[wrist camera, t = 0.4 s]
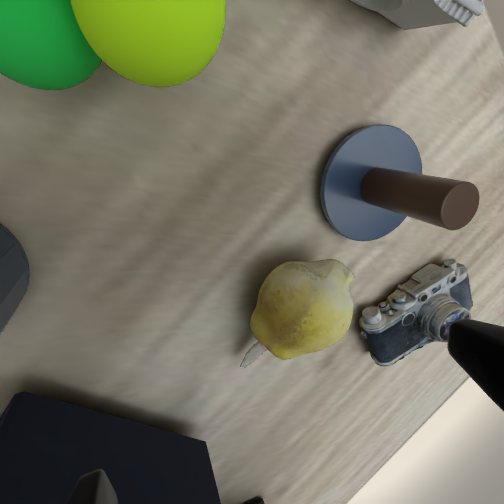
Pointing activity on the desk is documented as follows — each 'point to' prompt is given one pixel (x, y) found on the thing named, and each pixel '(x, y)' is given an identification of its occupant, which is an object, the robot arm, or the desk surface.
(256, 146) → the desk surface
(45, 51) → the molecule model
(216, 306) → the desk surface
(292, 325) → the fruit
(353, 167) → the lid
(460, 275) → the camera
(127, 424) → the speaker
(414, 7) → the grey ridged-top pillar
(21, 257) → the pot
